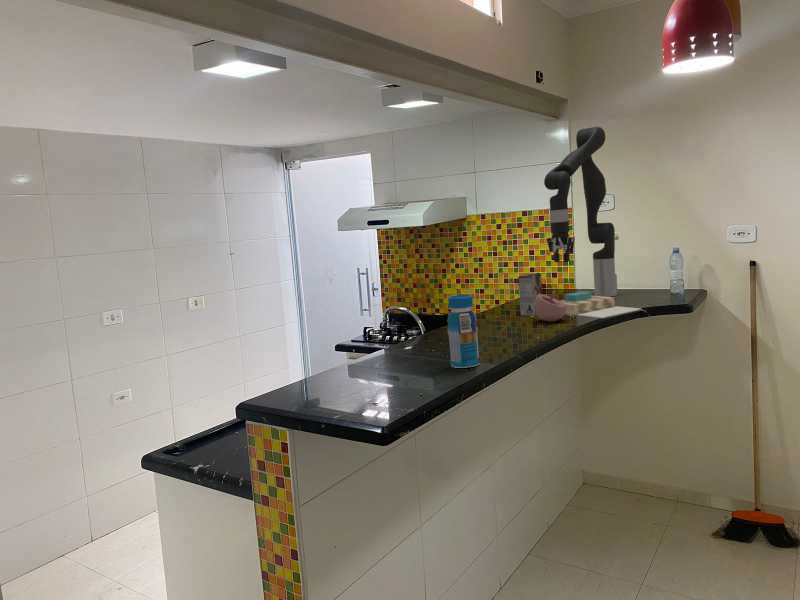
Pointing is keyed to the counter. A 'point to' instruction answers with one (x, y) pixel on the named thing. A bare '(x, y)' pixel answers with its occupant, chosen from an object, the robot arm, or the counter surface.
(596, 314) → the white flat panel
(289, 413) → the counter surface
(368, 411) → the counter surface
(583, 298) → the teal tile
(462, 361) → the beverage bottle
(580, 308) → the oak deck
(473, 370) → the counter surface
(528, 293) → the coffee box
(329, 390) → the counter surface
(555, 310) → the mortar and pestle
